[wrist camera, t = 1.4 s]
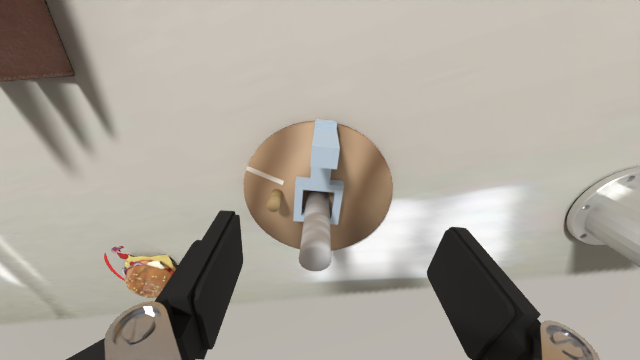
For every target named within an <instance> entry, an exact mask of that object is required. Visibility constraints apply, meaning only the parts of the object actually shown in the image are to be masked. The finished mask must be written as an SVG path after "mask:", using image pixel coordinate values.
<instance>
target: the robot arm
mask: <svg viewBox="0 0 640 360" xmlns="http://www.w3.org/2000/svg"><path fill="white" fill-rule="evenodd" d="M567 228H568V231H569V232H570V233H571V235H573V236H574V237H575V238H577V239H578V240H580V241H581V242H583V243H586V244H590V245H608V246H609V247H611V248H612V249H614V250H615V251H617V252H618V253H620V254H621V255H623V256H624V257H626V258H627V259H629V260H630V261H632V262H633V263H635V264H636V265H638V266H639V267H640V167H636V168H632V169H627V170H624V171H621V172H618V173H615V174H613V175H611V176H609V177H606V178H604V179H603V180H601V181H599V182H598V183H596V184H594V185H593V186H592V187H590V188H589V189H588V190H586V191H585V192H584V193H583V194H582V195H581V196H580V197H579V198H578V199H577V200H576V202H575V203H574V204H573V206H572V208H571V209H570V211H569V214H568V217H567ZM242 264H243V253H242V241H241V229H240V217H239V215H235V212H234V211H222V210H221V211H220V212H219V213H218V215H217V216H216V218H215V220H214V221H213V223H212V224H211V226H210V228H209V229H208V231H207V232H206V234H205V236H204V237H203V239H202V240H196V241H195V242H194V243H193V244H192V245H191V247H190V248H189V250H188V251H187V253H186V254H185V256H184V258H183V259H182V261H181V262H180V264H179V265H178V267H177V268H176V270H175V271H174V273H173V274H172V276H171V277H170V279H169V280H168V282H167V283H166V285H165V286H164V288H163V289H162V291H161V292H160V294H159V295H158V297H157V299H156V300H155V302H153V301H150V302H143V303H140V304H138V305H135V306H133V307H131V308H129V309H128V310H126V311H124V312H123V313H122V314H121V315H119V316H118V317H117V318H116V319H115V320H114V322H113V323H112V324H111V325H110V327H109V328H108V330H107V332H106V334H105V338H104V339H102V340H100V341H99V342H97V343H95V344H93V345H91V346H90V347H88V348H86V349H85V350H83V351H81V352H79V353H77V354H75V355H74V356H72V357H70V358H68V359H66V360H195V359H204V358H205V355H206V353H207V350H208V349H212V348H213V347H214V344H215V341H216V338H217V336H218V333H219V330H220V327H221V325H222V322H223V319H224V316H225V313H226V310H227V308H228V305H229V302H230V299H231V296H232V293H233V291H234V288H235V285H236V282H237V279H238V276H239V274H240V271H241V268H242ZM427 276H428V279H429V281H430V283H431V285H432V287H433V289H434V291H435V293H436V295H437V297H438V298H439V300H440V302H441V305H442V307H443V309H444V311H445V313H446V315H447V317H448V318H449V320H450V323H451V325H452V327H453V329H454V331H455V333H456V335H457V337H458V339H459V341H460V343H461V345H462V347H463V349H464V351H465V353H466V354H467V356H468V357H469V358H470V359H472V360H600V359H599V357H598V355H597V353H596V352H595V350H594V349H593V348H592V346H591V345H590V344H589V343H588V342H587V341H586V340H585V339H584V338H583V337H581V336H580V335H579V334H577V333H576V332H575V331H573V330H572V329H570V328H568V327H566V326H565V325H562V324H560V323H558V322H554V321H544V322H542V323H540V322H539V320H537V318H538V317H539V316H540V313H539V312H538V311H537V310H536V309H535V308H534V306H533V305H532V304H531V303H530V302H529V301H528V299H527V298H526V297H525V296H524V295H523V294H522V292H521V291H520V290H519V289H518V288H517V287H516V285H515V284H514V283H513V282H512V281H511V280H510V279H509V277H508V276H507V275H506V274H505V273H504V272H503V270H502V269H501V268H500V267H499V266H498V265H497V263H496V262H495V261H494V260H493V259H492V258H491V257H490V255H489V254H488V253H487V252H486V251H485V250H484V248H483V247H482V246H481V245H480V244H479V243H478V241H477V240H476V239H475V238H474V237H473V236H472V235H471V233H470V232H469V231H468V230H467V229H466V228H459V227H451V228H449V230H446V231H445V233H444V235H443V238H442V240H441V242H440V244H439V246H438V248H437V251H436V253H435V255H434V257H433V259H432V261H431V263H430V266H429V268H428V270H427Z"/></svg>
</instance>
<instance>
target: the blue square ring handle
mask: <svg viewBox="0 0 640 360" xmlns="http://www.w3.org/2000/svg"><path fill="white" fill-rule="evenodd" d="M339 151H340V146H339V140H338V134H337V121H331V120H320V119H315V127H314V134H313V141H312V151H311V163H310V167H311V176H310V178H308V177H296V181H295V198H294V219H293V221H299V222H304V215H305V209H302V204H303V190H311V191H323V192H334V193H333V200H332V207H331V212H330V211H329V213H330V224H335V225H338V220H339V214H340V208H341V201H342V195H343V189H344V183H343V181H342V180H331V179H330V177H331V169H337V165H338V158H339Z"/></svg>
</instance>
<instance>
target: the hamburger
mask: <svg viewBox="0 0 640 360" xmlns="http://www.w3.org/2000/svg"><path fill="white" fill-rule="evenodd" d="M120 247H121V248H124V247H123V246H120ZM116 248H117V247H116ZM116 248H115V247H114V248H112V252H113V253H115V252H117V254H118V255H119V257H120V258H122V259H127V260H128V263H127V262H126V263H125V266H126V267H124V268H123V269H122V272H123V274H124V276H125V277H126V280H125V279H124V278H122V277H121V276H120V275H119V274H118V273H117V272H116V271H115V270H114V269H113V268H112V267H111V265H110V263H109V261H108V259H107V256H106V254H105V255H104V259H105V262H106V264H107V266H108V267H109V268H110V270H111V271H112V272H113V273H114V274H115V275H117V276H118V277H119V278H121V279H122V280H124V281H126V284H127V287H128V288H129V289H130V290H131V291H133V292H134V293H136V294H138V295H140V296H143V297H145V298H147V297H148V298H155V297H158V295H159V294H160V292H161V291H162V289H163V288H164V286H165V285H166V283H167V282H168V280H169V279H170V277H171V276H172V274H173V273H174V271H175V270H176V267H175V266H174V265H173V264H172V261H171V260H170V258H169V256H168V255H161V256H150V257H145V256H140V257H131V256H129V257H128V255H129V254H122V253H124V252H120V250H118V249H121V248H118V249H116ZM127 260H126V261H127Z"/></svg>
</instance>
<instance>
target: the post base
mask: <svg viewBox="0 0 640 360" xmlns="http://www.w3.org/2000/svg"><path fill="white" fill-rule="evenodd" d="M314 127H315V121H309V122H302V123H297V124H293V125H291V126H288V127H285V128H283V129H281V130H279V131H278V132H276V133H274V134H273V135H272V136H270V137H269V138H268V139H266V140H265V141H264V142H263V143H262V145H261V146H260V147H259V148H258V149H257V151H256V152H255V154H254V155H253V156H252V158H251V160H250V162H249V164H248V166H247V168H246V173H245V178H244V195H245V200H246V204H247V207H248V209H249V211H250V213H251V215H252V217H253V218H254V220H255V221H256V222H257V224H258V225H259V226H260V227H261V228H262V229H263V230H264V231H265V232H266V233H267V234H269V235H270V236H271V237H273V238H274V239H276V240H278V241H279V242H281V243H284V244H286V245H288V246H291V247H294V248H297V249H300V255H299V262H300V264H301V266H302V267H304V268H305V269H307V270H310V271H321V270H324V269H326V268H327V267H328V266H329V265H330V263H331V250H337V249H341V248H344V247H347V246H350V245H353V244H355V243H357V242H359V241H361V240H362V239H364V238H365V237H367V236H368V235H369V234H370V233H372V232H373V231H374V230H375V229H376V228H377V227H378V226H379V224H380V223H381V222H382V220H383V219H384V217H385V215H386V214H387V212H388V209H389V206H390V204H391V199H392V191H393V185H392V177H391V173H390V170H389V167H388V165H387V163H386V161H385V159H384V157H383V156H382V154H381V153H380V151H379V150H378V148H377V147H376V146H375V145H374V144H373V143H372V142H371V141H370V140H369V139H368V138H366V137H365V136H364V135H362V134H361V133H359V132H358V131H356V130H354V129H352V128H349V127H347V126H344V125H341V124H338V123H337V134H338V140H339V146H340V151H339V158H338V165H337V169H331V177H330V179H331V180H342V181H343V183H344V189H343V195H342V201H341V208H340V214H339V220H338V225H335V224H330V213H329V211H330V212H331V207H332V200H333V193H334V192H323V191H311V190H303V204H302V209H305V215H304V222H299V221H293V219H294V198H295V181H296V177H308V178H310V176H311V167H310V163H311V151H312V141H313V134H314Z"/></svg>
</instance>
